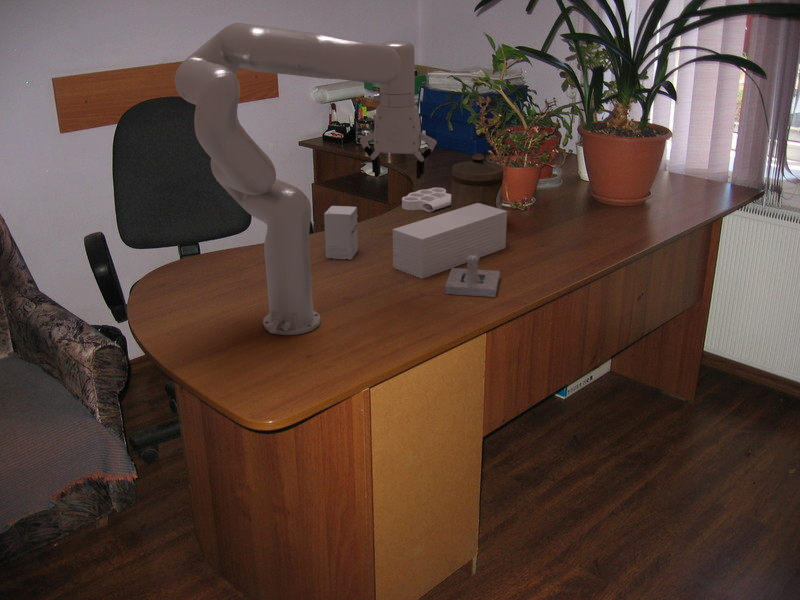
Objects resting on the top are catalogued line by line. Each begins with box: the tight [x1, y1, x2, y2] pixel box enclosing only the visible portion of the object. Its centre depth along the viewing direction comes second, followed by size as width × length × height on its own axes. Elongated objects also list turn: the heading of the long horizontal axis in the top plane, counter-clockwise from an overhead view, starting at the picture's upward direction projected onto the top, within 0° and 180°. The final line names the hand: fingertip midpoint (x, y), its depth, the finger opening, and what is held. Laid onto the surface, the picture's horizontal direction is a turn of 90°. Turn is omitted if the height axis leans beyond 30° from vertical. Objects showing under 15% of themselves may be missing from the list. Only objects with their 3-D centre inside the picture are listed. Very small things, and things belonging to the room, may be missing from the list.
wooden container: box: [450, 153, 504, 211], centre depth 236 cm, size 15×15×22 cm
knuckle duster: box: [401, 187, 451, 213], centre depth 262 cm, size 3×18×15 cm
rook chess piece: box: [463, 254, 482, 283], centre depth 199 cm, size 4×4×8 cm
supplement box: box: [323, 205, 359, 261], centre depth 219 cm, size 7×7×13 cm
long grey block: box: [392, 203, 508, 280], centre depth 216 cm, size 32×11×11 cm, turn 133°
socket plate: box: [444, 267, 501, 298], centre depth 200 cm, size 12×12×2 cm
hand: (398, 176), depth 187 cm, fingers open, 9 cm apart
